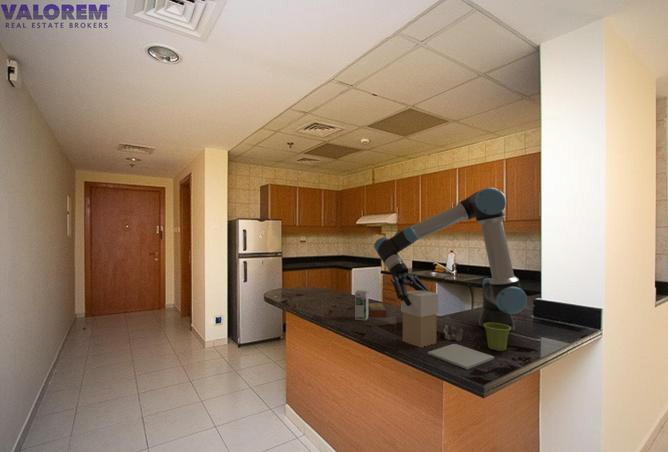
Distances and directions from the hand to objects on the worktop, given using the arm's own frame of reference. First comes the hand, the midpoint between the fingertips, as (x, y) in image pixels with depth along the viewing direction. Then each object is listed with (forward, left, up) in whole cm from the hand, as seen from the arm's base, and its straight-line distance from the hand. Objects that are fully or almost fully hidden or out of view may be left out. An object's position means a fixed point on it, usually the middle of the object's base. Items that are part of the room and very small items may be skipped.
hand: (425, 310), depth 129 cm
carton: (+24, -45, -14) cm, 53 cm away
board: (-12, +10, -14) cm, 21 cm away
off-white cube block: (+2, -2, -3) cm, 4 cm away
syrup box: (+30, -31, -14) cm, 45 cm away
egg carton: (-12, -13, -14) cm, 23 cm away
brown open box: (+2, -2, -14) cm, 14 cm away
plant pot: (-27, -2, -14) cm, 30 cm away
